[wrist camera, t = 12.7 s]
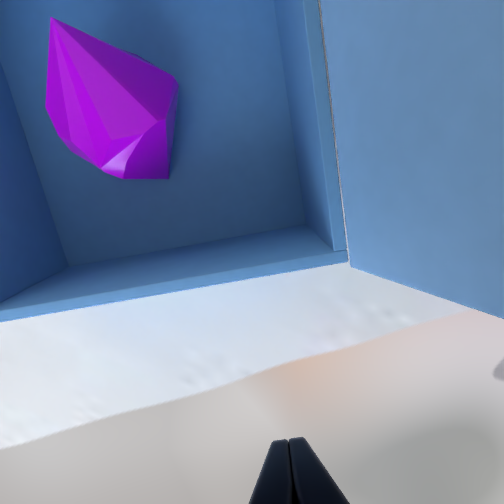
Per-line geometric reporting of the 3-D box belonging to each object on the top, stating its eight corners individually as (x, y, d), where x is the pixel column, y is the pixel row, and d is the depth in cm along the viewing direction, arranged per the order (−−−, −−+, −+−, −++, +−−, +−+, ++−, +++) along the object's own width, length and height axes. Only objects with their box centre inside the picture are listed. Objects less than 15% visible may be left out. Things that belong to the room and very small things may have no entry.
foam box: (271, -78, 15) (286, -273, 9) (314, 229, 19) (348, 262, 12) (-27, -11, 16) (-232, -144, 9) (68, 273, 20) (-29, 327, 13)
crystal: (75, 146, 17) (14, 137, 13) (107, 43, 16) (52, -7, 12) (165, 187, 18) (137, 192, 13) (203, 90, 17) (186, 60, 12)
